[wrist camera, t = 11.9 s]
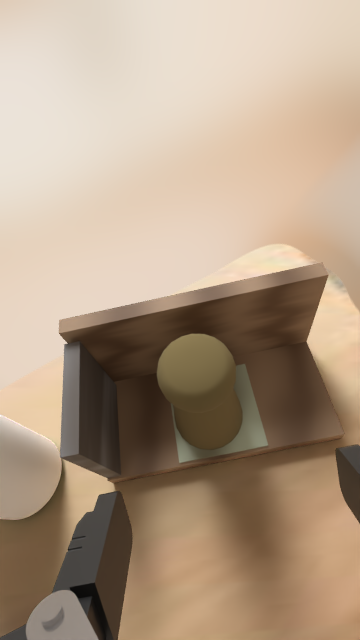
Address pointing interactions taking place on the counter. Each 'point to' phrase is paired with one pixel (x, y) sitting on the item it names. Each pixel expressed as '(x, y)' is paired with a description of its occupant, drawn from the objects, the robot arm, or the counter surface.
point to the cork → (201, 390)
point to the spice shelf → (157, 412)
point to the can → (26, 470)
